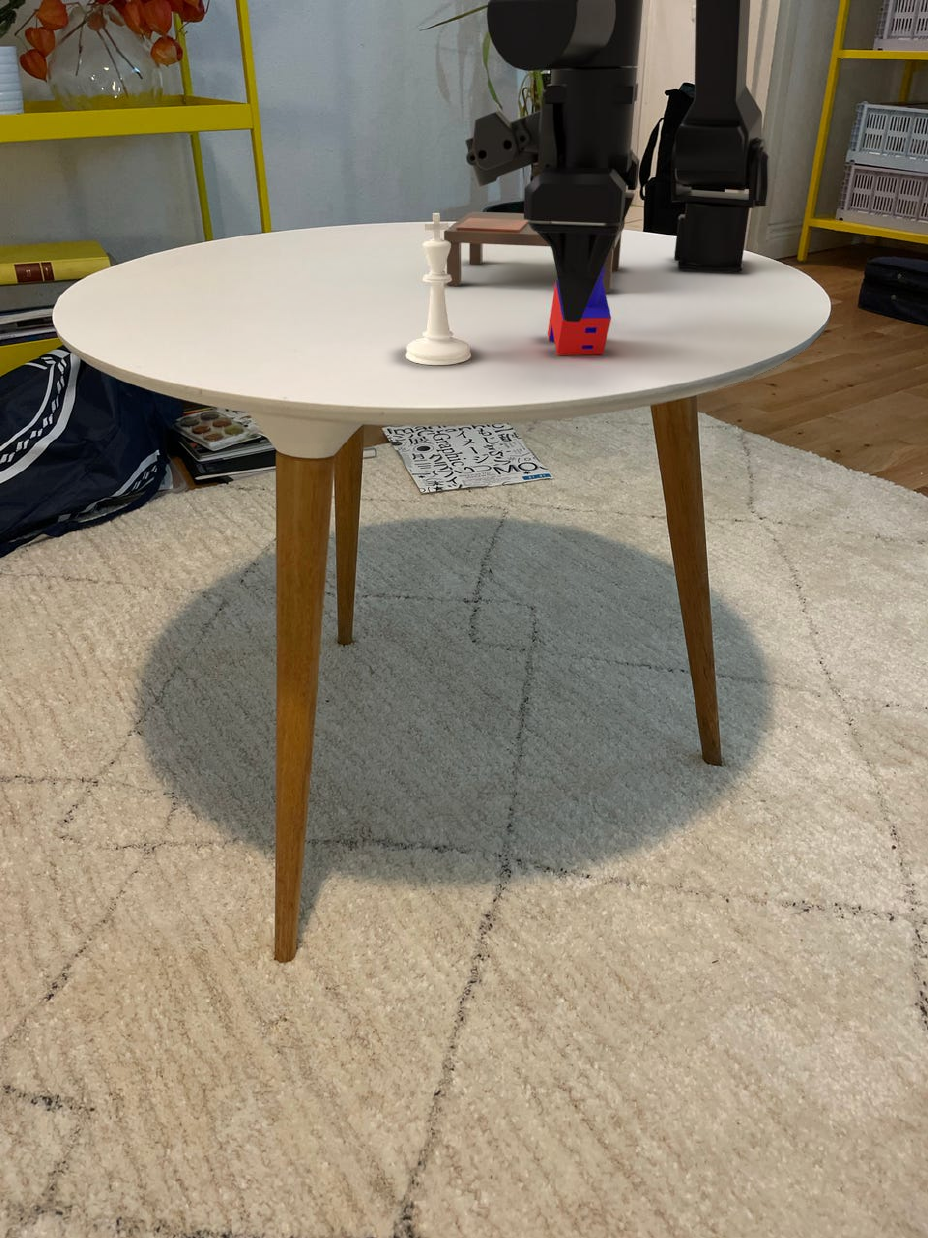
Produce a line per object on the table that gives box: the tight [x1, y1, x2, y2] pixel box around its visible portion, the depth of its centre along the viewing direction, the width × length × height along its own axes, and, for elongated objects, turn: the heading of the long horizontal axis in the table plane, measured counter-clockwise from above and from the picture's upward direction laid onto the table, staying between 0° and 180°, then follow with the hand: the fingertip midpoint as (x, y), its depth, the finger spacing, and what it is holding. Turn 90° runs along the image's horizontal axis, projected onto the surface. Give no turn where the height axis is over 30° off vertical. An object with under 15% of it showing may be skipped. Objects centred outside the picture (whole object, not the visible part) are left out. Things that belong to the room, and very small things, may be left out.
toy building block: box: [547, 267, 612, 356], centre depth 72 cm, size 4×4×8 cm
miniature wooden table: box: [443, 211, 626, 295], centre depth 95 cm, size 16×12×5 cm
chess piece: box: [405, 212, 472, 366], centre depth 70 cm, size 5×5×10 cm
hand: (579, 306), depth 72 cm, fingers open, 9 cm apart
